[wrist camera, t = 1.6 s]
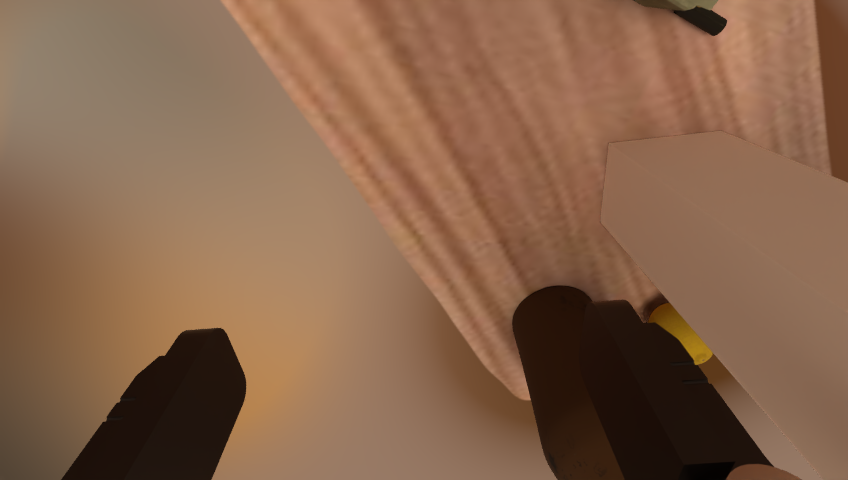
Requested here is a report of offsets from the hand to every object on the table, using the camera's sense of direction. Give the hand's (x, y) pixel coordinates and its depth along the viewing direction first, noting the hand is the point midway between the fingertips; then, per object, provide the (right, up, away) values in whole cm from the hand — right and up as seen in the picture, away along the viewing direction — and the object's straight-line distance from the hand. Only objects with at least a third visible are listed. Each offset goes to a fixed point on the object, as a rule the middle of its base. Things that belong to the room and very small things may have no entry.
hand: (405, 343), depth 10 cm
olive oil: (+15, -7, +39) cm, 42 cm away
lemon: (+27, -5, +38) cm, 47 cm away
